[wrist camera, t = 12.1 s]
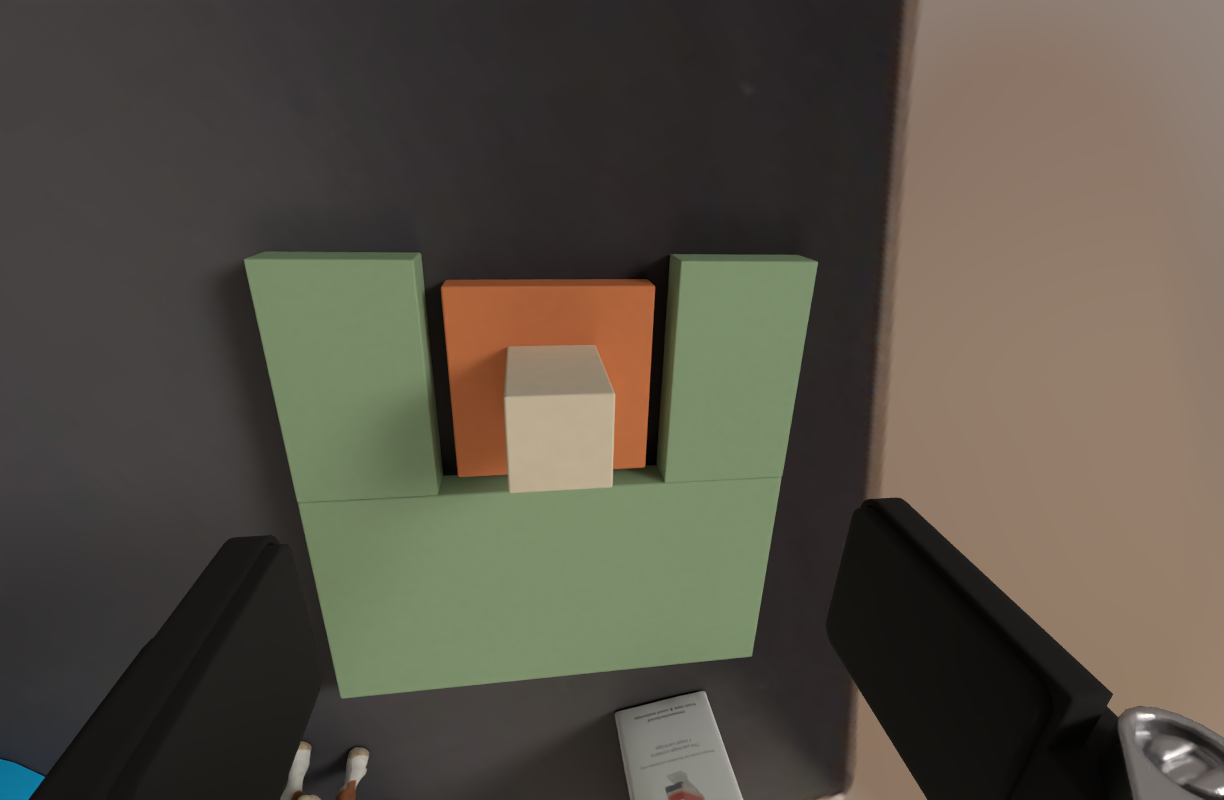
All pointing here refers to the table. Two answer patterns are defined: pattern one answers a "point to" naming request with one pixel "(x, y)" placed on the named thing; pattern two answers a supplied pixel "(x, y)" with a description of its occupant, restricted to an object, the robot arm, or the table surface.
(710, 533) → the green mat
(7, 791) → the mug
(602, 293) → the terracotta pad
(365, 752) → the bull figurine
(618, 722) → the ink box
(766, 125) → the table surface
